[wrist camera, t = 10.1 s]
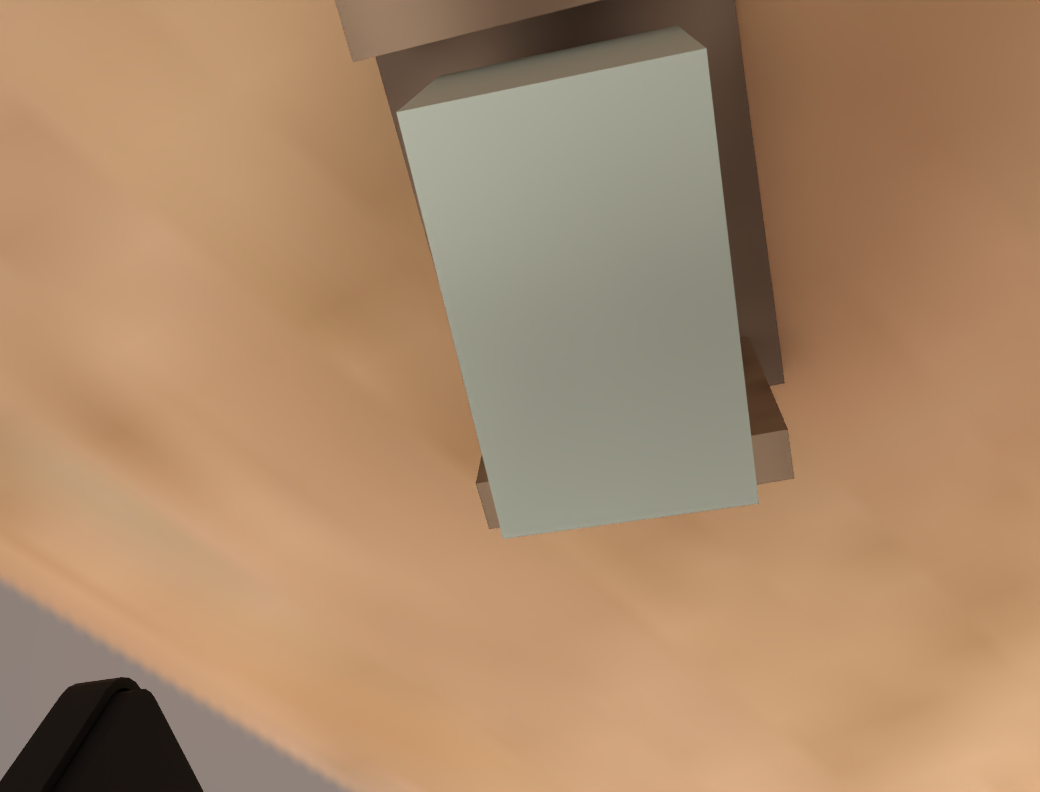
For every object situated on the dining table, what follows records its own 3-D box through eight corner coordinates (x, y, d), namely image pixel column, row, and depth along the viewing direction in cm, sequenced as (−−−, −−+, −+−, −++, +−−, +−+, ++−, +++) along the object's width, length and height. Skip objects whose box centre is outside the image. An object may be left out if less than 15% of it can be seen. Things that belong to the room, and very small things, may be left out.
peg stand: (714, -118, 28) (760, -142, 20) (779, 371, 34) (831, 484, 27) (360, -24, 29) (287, -16, 22) (485, 425, 36) (460, 545, 29)
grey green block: (677, 25, 23) (706, 47, 18) (724, 392, 27) (758, 503, 22) (439, 75, 24) (396, 112, 18) (518, 424, 28) (503, 539, 22)
